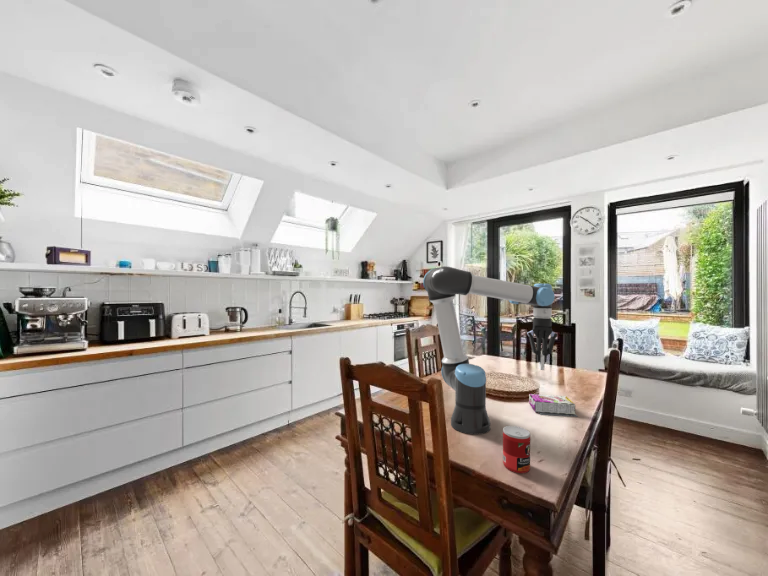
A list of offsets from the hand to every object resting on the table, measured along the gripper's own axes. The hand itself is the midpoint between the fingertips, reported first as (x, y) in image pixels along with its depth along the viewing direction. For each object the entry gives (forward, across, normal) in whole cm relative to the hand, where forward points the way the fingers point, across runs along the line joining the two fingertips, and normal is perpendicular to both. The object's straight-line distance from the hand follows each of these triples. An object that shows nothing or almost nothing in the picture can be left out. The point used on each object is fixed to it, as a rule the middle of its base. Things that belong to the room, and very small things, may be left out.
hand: (541, 369), depth 146 cm
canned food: (+19, -24, -51) cm, 59 cm away
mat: (+18, +5, 0) cm, 19 cm away
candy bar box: (+15, -4, 0) cm, 16 cm away
